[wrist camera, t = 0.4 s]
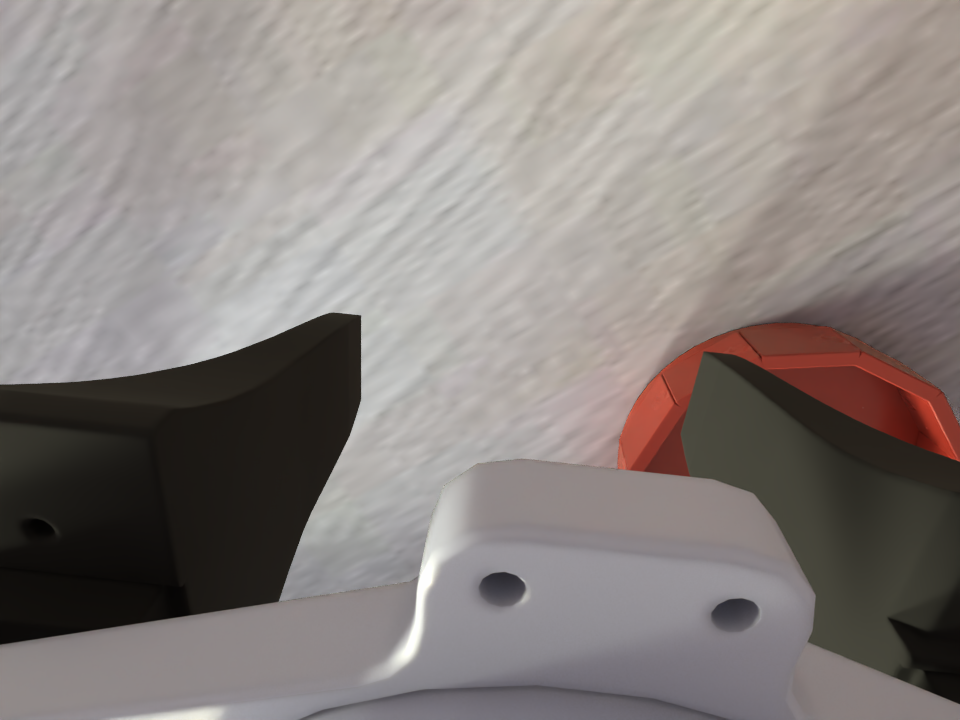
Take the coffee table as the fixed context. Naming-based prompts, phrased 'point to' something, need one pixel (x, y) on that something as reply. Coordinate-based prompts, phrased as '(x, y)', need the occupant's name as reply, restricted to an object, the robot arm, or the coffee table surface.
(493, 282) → the coffee table surface
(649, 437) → the pan
